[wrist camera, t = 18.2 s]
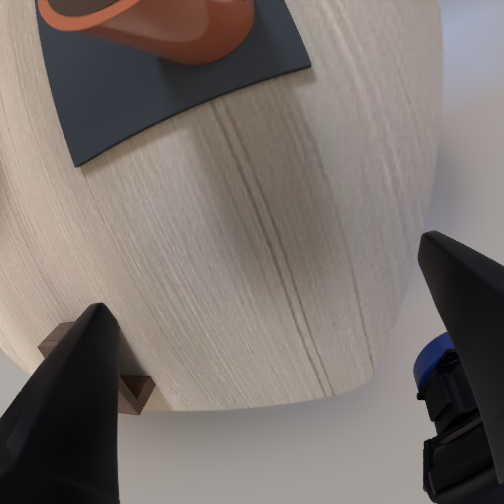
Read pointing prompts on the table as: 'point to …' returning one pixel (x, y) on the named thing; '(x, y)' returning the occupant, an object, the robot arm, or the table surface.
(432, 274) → the robot arm
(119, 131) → the desk mat
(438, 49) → the table surface
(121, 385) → the brown square slab
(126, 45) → the cup
